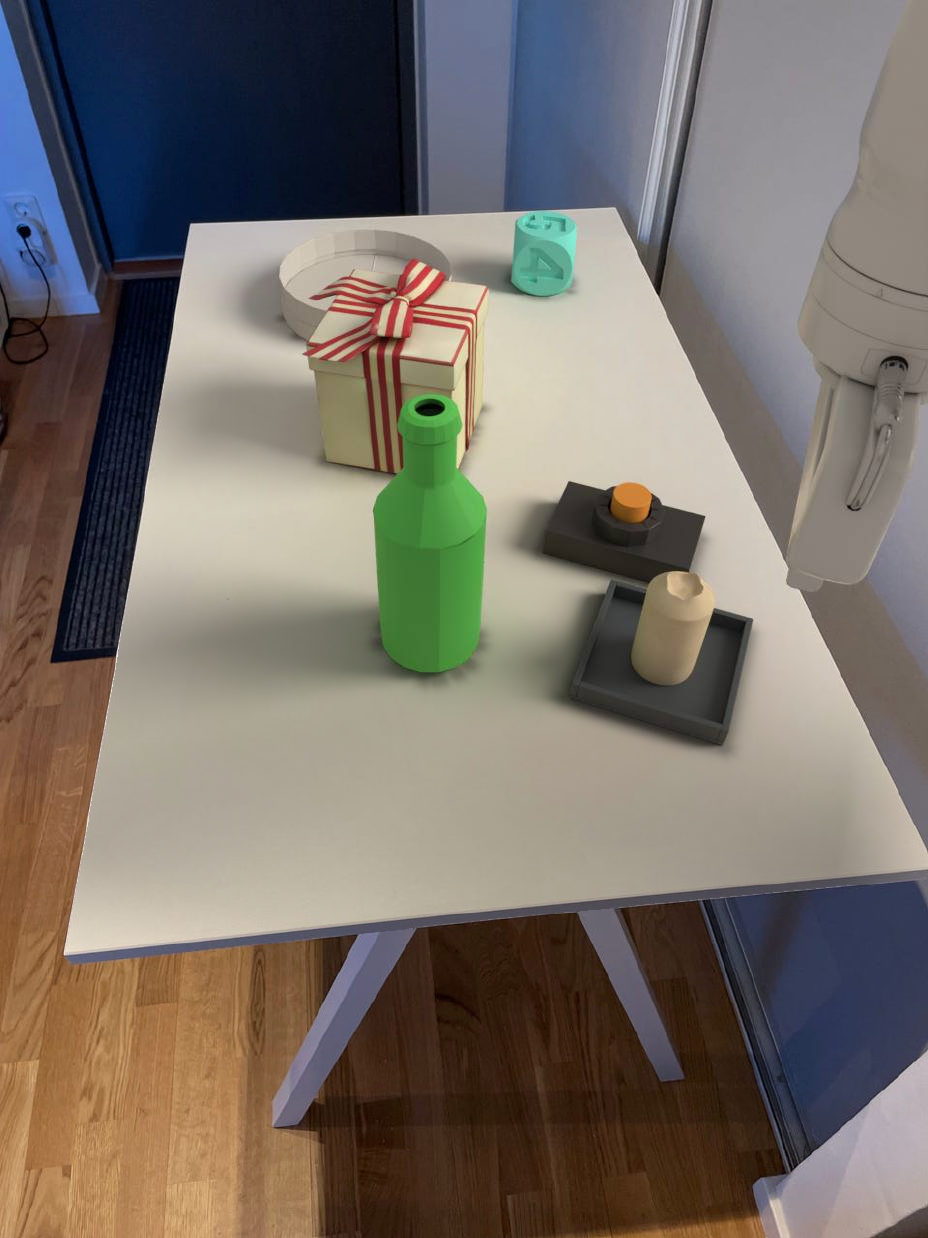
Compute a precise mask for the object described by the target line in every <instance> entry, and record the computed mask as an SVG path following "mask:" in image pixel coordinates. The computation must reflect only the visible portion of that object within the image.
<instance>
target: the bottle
mask: <svg viewBox="0 0 928 1238" xmlns="http://www.w3.org/2000/svg"><path fill="white" fill-rule="evenodd" d="M462 426H463V425H462V421H461V417H460V413H459V410H458V406H457V404H456V403H455V402H454V401H453V400H452V399H450V398H447V397H445V396H441V395H436V394H425V395H421V396H416V397H414V398H412V399H409V400H408V401H407V402H406V403H404V404H403V406H402V409H401V412H400V416H399V420H398V424H397V427H398V431H399V433H400V434H401V435H402V436H403V465H404V467H403V469H402V470H401V471H400V472H399V473H396V475H395V476H394V477H393V478H392V479H391V480H390V481H389V482H388V484H387V485H386V486H385V487H384V488H383V489H382V490H381V491H380V492H379V493H378V494H377V496H376V499H375V502H374V505H373V508H372V515H373V528H374V530H373V531H374V545H375V546H374V547H375V564H376V582H377V595H378V596H377V597H378V610H379V611H378V612H379V625H380V635H381V641H382V647H383V649H384V650H385V652H386V653H387V654H388V655H389V657H390V659H392V660H393V661H394V662H396V663H397V664H399V665H401V666H402V667H403V668H405V669H408V670H412V671H416V672H419V673H442V672H446V671H449V670H452V669H456V668H457V667H459V666H461V665H462V664H463V663H465V662H467V661H469V659H470V658H471V657H472V655H473V654H474V653H475V651H476V650H477V649H478V646H479V640H480V635H481V621H482V607H483V591H484V574H485V573H484V572H485V553H486V536H487V535H486V534H487V515H488V514H487V513H488V508H487V505H486V501H485V499H484V496H483V495H482V493H481V492H480V491H479V490H478V489H477V488H476V487H475V486H474V485H473V484H472V482H471V481H470V480H469V479H468V478H467V477H466V476H465V475H464V474H463V472H462V471H461V470H460V469H459V468H457V467H456V464H457V435H458V434H459V433H460V432H461V429H462Z"/></svg>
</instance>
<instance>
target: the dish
mask: <svg viewBox="0 0 928 1238" xmlns="http://www.w3.org/2000/svg"><path fill="white" fill-rule="evenodd" d="M412 259H416V260H418V261H420V262H422V263H424V264H426V265H428V266H429V267H432V268H434V269H436V270H438V271H440V272H442V273H444V274H446V277H445V278H444V280H447V281H452V269H451V262H450V261H449V259H448V258H447V256H446V255H445V254H444V253H443V251H441V250H440V249H439V248H437V246H435V245H433V244H432V243H431V242H427V241H426V240H423V239H421V238H419V237H416V236H414V235H409V234H405V233H402V232H398V231H391V230H380V229H352V230H344V231H337V232H331V233H328V234H325V235H321V236H317V237H314V238H312V239H310V240H308V241H306V242H304V243H302V244H300V245H298V246H296V247H295V248H294V249H293V250H292V251H290V252H289V253H288V254H287V255H286V256H285V258H284V259H283V260H282V262H281V264H280V266H279V276H278V278H279V285H280V304H281V312H282V315H283V318H284V320H285V322H286V324H287V326H288V327H289V328H290V329H291V331H293V333H295V334H296V335H298V337H300V338H302V339H304V340H305V341H308V340H309V339H310V337H311V335H312V334H313V332H314V331H315V329H316V328H317V326H318V325H319V323H320V322H321V320H322V319H323V317H324V316H325V314H326V312H327V310H328V309H329V307H330V305H331V304H332V302H333V301H334V299H335V298H336V295H335V296H330V297H327V298H323V299H321V300H311V299H309V298H310V297H312V296H314V295H316V294H318V293H319V292H320V291H322V290H323V289H324V288H326V287H327V286H329V285H330V284H332V283H333V282H335V281H337V280H338V279H340V278H342V277H348V276H350V274H351V273H352V271H353V270H354V269H357V270H366V271H374V272H382V273H389V274H398V275H402V274H403V272H404V269H405V267H406V265H407V264H408V263H409V262H410V261H411V260H412Z"/></svg>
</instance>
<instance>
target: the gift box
mask: <svg viewBox="0 0 928 1238" xmlns="http://www.w3.org/2000/svg"><path fill="white" fill-rule="evenodd" d="M445 277H446V274H444V273H442V272H440V271H438V270H436V269H434V268H432V267H429V266H428V265H426V264H424V263H422V262H420V261H418V260H416V259H412V260H411V261H410V262H409V263H408V264H407V265H406V267H405V269H404V272H403V274H402V275H398V274H389V273H382V272H374V271H366V270H357V269H354V270H353V271H352V273H351V274H350V276H348V277H342V278H340V279H338V280H337V281H335V282H333V283H332V284H330V285H329V286H327V287H326V288H324V289H323V290H322V291H320V292H319V293H318V294H316V295H314V296H312V297H310V298H309V299H311V300H321V299H323V298H327V297H330V296H335V295H336V298H335V299H334V301H333V302H332V304H331V305H330V307H329V309H328V310H327V312H326V314H325V316H324V317H323V319H322V320H321V322H320V323H319V325H318V326H317V328H316V329H315V331H314V332H313V334H312V335H311V337H310V339H309V340H307V342H306V343H305V346H306V351H305V352H303V353H302V354H301V355H302V356H305V357H307V361H308V369H309V370H310V371H313V373H314V381H315V389H316V397H317V404H318V411H319V418H320V425H321V426H320V427H321V435H322V440H323V441H322V442H323V448H324V449H323V450H324V455H325V461H326V462H327V463H331V464H337V465H338V464H339V465H345V466H350V467H356V468H363V469H367V470H368V469H369V470H374V471H378V472H385V473H392V474H398V473H399V472H400V471H401V470H402V469H403V467H404V465H403V436H402V435H401V434H400V433H399V431H398V427H397V424H398V420H399V416H400V412H401V409H402V406H403V404H404V403H406V402H407V401H408V400H409V399H412V398H414V397H416V396H421V395H425V394H436V395H441V396H445V397H447V398H450V399H452V400H453V401H454V402H455V403H456V404H457V406H458V410H459V413H460V417H461V421H462V425H463V426H462V429H461V432H460V433H459V434H458V435H457V464H456V467H457V468H458V469H459V468H460V465H461V462H462V460H463V458H464V455H465V453H466V452H468V450H469V449H470V439H471V437H472V436H473V434H474V429H475V426H476V423H477V422H478V418H479V416H480V413H481V410H482V409H483V405H484V357H485V356H484V355H485V354H484V353H485V352H484V351H485V350H484V349H485V320H486V318H487V315H488V314H489V293H490V291H489V286H488V285H486V284H485V285H484V284H477V283H469V282H461V281H453V280H451V281H447V280H444V278H445Z"/></svg>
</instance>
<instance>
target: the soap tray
mask: <svg viewBox="0 0 928 1238" xmlns="http://www.w3.org/2000/svg"><path fill="white" fill-rule="evenodd" d="M646 592H647V588H644V587H640V586H637V585H633V584H629V583H626V582H622V581H619V580H616V579H610V581H609V584H608V586H607V589H606V592H605V594H604V596H603V600H602V602H601V605H600V607H599V610H598V613H597V615H596V618H595V621H594V624H593V626H592V628H591V632H590V635H589V636H588V639H587V642H586V645H585V647H584V650H583V653H582V654H581V655H582V656H581V659H580V660H579V664H578V666H577V669H576V671H575V674H574V676H573V679H572V681H571V685H570V691H569V696H568V698H569V699H571V700H574V701H577V702H581V703H584V704H587V705H591V706H593V707H597V708H600V709H603V710H607V711H610V712H613V713H616V714H619V715H623V716H626V717H629V718H633V719H636V720H639V721H642V722H646V723H648V724H653V725H655V726H658V727H662V728H665V729H668V730H671V731H675V732H678V733H681V734H684V735H687V736H691V737H693V738H696V739H697V738H698V739H700V740H703V741H707V742H710V743H713V744H716V745H720V746H724V744H725V741H726V740H727V736H728V735H729V733H730V728H731V724H732V723H731V722H732V718H733V715H734V709H735V704H736V700H737V696H738V691H739V686H740V682H741V677H742V673H743V670H744V669H743V668H744V664H745V660H746V655H747V650H748V646H749V641H750V637H751V632H752V628H753V624H754V618H751V617H747V616H745V615H741V614H737V613H735V612H731V611H727V610H724V609H720V608H716V607H714V610H713V612H712V615H711V618H710V621H709V624H708V627H707V630H706V633H705V636H704V639H703V642H702V645H701V648H700V651H699V654H698V657H697V660H696V663H695V665H694V668H693V671H692V673H691V674H690V676H689V677H688V678H687V679H686V680H684V681H683V682H681V683H679V684H675V685H669V686H665V685H658V684H654V683H652V682H649V681H647V680H645V679H644V678H643V677H641V676H640V675H639V674H638V673H637V672H636V670H635V669H634V667H633V665H632V661H631V653H632V648H633V643H634V639H635V636H636V632H637V628H638V624H639V620H640V616H641V612H642V608H643V604H644V600H645V596H646Z"/></svg>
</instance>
